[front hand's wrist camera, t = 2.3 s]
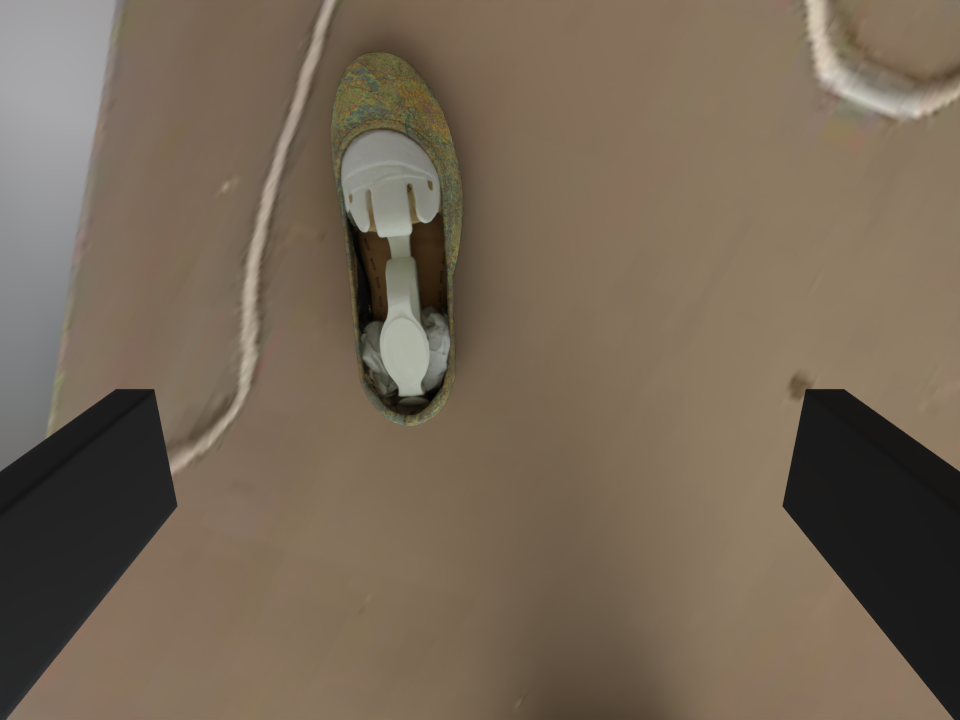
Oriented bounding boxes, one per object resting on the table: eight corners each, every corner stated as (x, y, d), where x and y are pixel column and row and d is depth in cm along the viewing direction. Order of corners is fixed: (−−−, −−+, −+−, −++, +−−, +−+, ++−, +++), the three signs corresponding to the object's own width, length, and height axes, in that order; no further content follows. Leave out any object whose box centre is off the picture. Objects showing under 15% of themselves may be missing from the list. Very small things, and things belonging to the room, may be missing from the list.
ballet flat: (457, 50, 40) (450, 32, 32) (473, 399, 48) (472, 448, 41) (326, 56, 40) (289, 40, 32) (366, 403, 48) (344, 453, 41)
